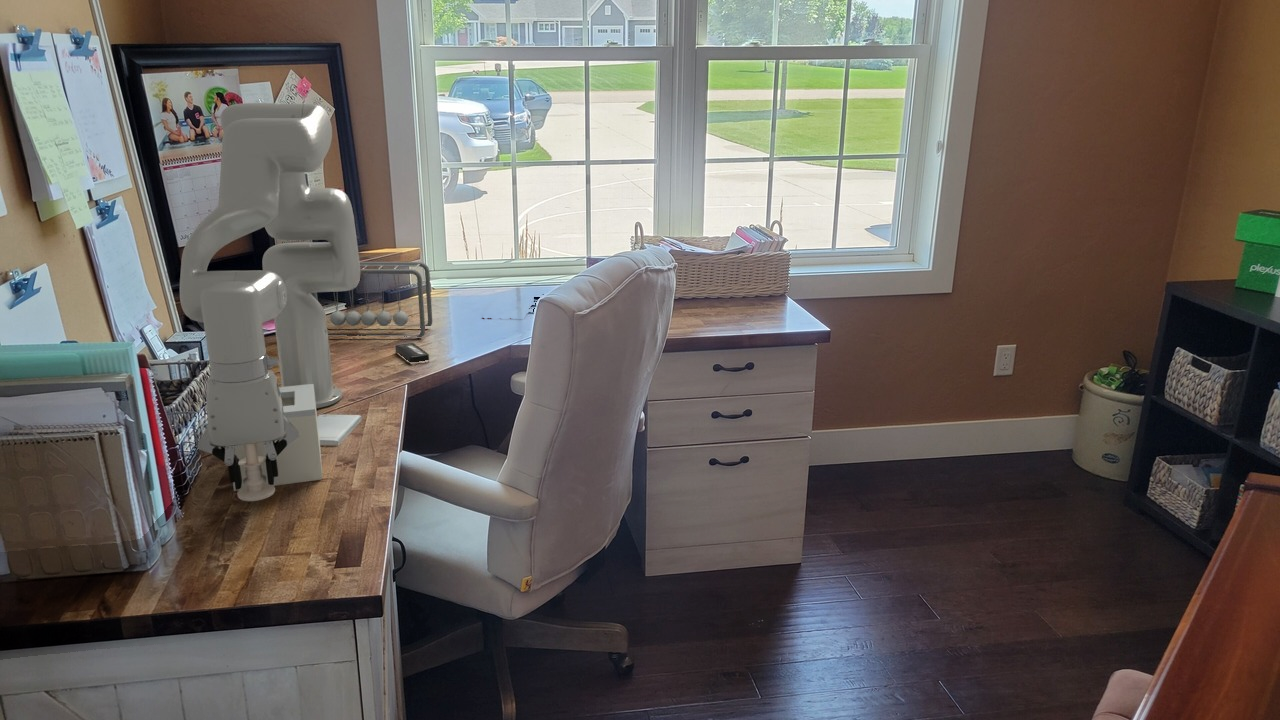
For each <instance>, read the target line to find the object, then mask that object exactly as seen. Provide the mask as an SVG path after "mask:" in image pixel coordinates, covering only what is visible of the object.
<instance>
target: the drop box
mask: <svg viewBox="0 0 1280 720" xmlns="http://www.w3.org/2000/svg"><path fill="white" fill-rule="evenodd" d="M279 390H280V394H281V399H282V405H283V411H284V416H285V417H286V418H287V419H288V420H289V421H290V422H291V423H292V424H293V426H294V427H295V428H296V429H297V430H298V431H299V437H298V438H297V439H295V440H294V441H293V442H291V443H290V444H288V445H287V446H286V447H285V448H284V449H283V451H282V452H281V453H280V454H279V455H278V456H277V458H276V459H277V467H278V477H274V485H273V486H274V487H275V486H283V485H290V484H296V483H305V482H312V481H318V480H319V481H321V480H323V467H322V465H323V464H322V452H321V445H320V440H319V430H318V421H317V416H318V413H317V409H316V402H315V392H314V384H307V385H296V386H286V387H282V386H279ZM285 434H286V432H285V431H284V435H285ZM276 441H277V440H275V442H276ZM256 446H257V453H258V456H263V457H265V458H266V455H267V452H266V449H265V446H264V443H263V442H262V443H256ZM235 455H236V456H237V458H238V459H239V461H240V460H241V459H243V458H246V455H245V446H244V445H237V446H235ZM261 469H262V475H265V476H266V481H265V482H264V483H268V477H267V470H266V461H265V462H264V463H263V464H261ZM240 470H241V477H242V485H241V488H243V487H245V486H247V485H245V484H244V483H243V480H244V478H246V477H247V476H246V473H245V472H246V469H245V467H242V466H240ZM232 486H233V492H236V491H237V492H238V491H239V490H240V489H241V488H240V489H238V490H236V488H235V482H233V483H232Z"/></svg>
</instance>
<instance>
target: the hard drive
mask: <svg viewBox="0 0 1280 720" xmlns="http://www.w3.org/2000/svg"><path fill="white" fill-rule="evenodd" d="M317 421H318V430H319V440H320V446H333V447H334V446H336V447H338V446H339V445H340V444H342V442H343V441H344V440H345V439H346V438H347V437H348V436H349V434H350V433H352V432H353V431H354V429H355V428H356V427H357V426H358V425H359V424H360V423H361V422H362V416H361V415H360V414H322V413H321V414H319V415H317Z"/></svg>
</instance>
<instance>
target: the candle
mask: <svg viewBox="0 0 1280 720" xmlns="http://www.w3.org/2000/svg"><path fill="white" fill-rule="evenodd" d="M244 446H245V455H246V458H243V459H241V460H240V461H239V462H238V465H240V466H242V467H245V469H246V472H245V473H246V476H247V477H246V478H244V480H243V483H244V484H245V485H247V486H245V487H243V488H241V489H240V490H238V491H237V493H236V494H237V498H238V499H240V500H241V501H243V502H258V501H262V500H265V499H267V498H270V497H272V496H273V495H274V494H275V492H276V487H275V486H273V485H270V484H268V483H264V482H265V481H266V476H265V475H262V469H261V464H263V463H264V462H265V461H266V458H265V457H263V456H258V453H257V446H256V443H254V444H245V445H244Z"/></svg>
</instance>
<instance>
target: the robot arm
mask: <svg viewBox="0 0 1280 720" xmlns="http://www.w3.org/2000/svg"><path fill="white" fill-rule="evenodd" d="M220 125H221V129H222V131H223V134H222V141H221V157H220V171H219V172H220V174H219V175H220V176H219V189H218V203H217V206H216V208H215V209H213V210H212V211H211V212H210V213H209V214H208V215H207V216H206V217H205V218H204V219H203V220H201V222H200V223H199V224H198V225H197V227H196V228H195V229H194V230H193V231H192V233H191V234H190V236H189V237H188V239H187V241H186V243H185V245H184V248H183V250H182V255H181V262H180V263H181V265H180V276H179V277H180V278H179V301H180V306H181V309H182V311H183V313H184V314H185V316H186V317H188V318H189V319H190V320H192V321H194V322H199V323H203V327H204V334H205V340H206V341H205V342H206V348H207V354H208V355H207V356H208V362H209V368H210V369H209V370H210V376H209V377H207V379H206V393H205V395H206V398H205V399H206V400H205V401H206V416H207V426H206V428H205V430H204V432H203V434H202V435H201V437H200V439H199V440H198V443H197V450H200V451H203V452H205V453H208V454H211V455H213V456H214V457H216V459H219V460H220V461H222V462H223V463H224V465H225V466H227V470H228V477H229V482H230V483H232V484H233V482H235V488H236V490H238V489H240V488H241V485H242V477H241V470H240V465H238V462H239V459H238V458H237V456H236V455H235V446H237V445H245V444H254V443H262V442H263V443H264V446H265V449H266V452H267V455H266V470H267V477H268V484H270V485H274V477H278V467H277V459H276V458H277V456H278V455H279V454H280V453H281V452H282V451H283V449H284V448H285V447H286V446H287V445H288V444H290V443H291V442H293V441H294V440H295V439H297V438H298V437H299V431H298V430H297V429H296V428H295V427H294V426H293V424H292V423H291V422H290V421H289V420H288V419H287V418H286V417H285V416H284V411H283V405H282V399H281V394H280V390H279V387H280V385H279V383H278V379H277V376H276V374H275V372H274V371H273V370H271V368H274V367H279V373H280V379H281V383H280V384H281V387H286V386H296V385H307V384H314V392H315V402H316V410H317V409H320V408H326V407H328V406H332V405H334V404H336V403H338V402H339V401H340V400H341V399H342V398H343V391H342V390H341V388H339V387H338V386H335V385H334V382H333V381H334V380H333V371H332V362H331V352H330V350H331V349H330V342H329V341H330V339H328V335H329V330H328V329H327V325H328V322H327V321H328V319H327V314H326V312H325V308H324V306H322V303H320V302H319V301H317V300H316V299H315V298H314V297H313V295H312V293H315V292H317V293H330V292H333V293H335V292H336V293H338V292H347V291H348V292H349V291H352V289H353V290H354V289H356V288H357V286H358V285H359V283H360V279H361V274H360V269H361V266H360V262H361V261H360V254H359V248H358V247H359V245H358V240H357V239H358V238H357V232H356V224H355V215H354V212H353V207H352V203H351V200H350V198H349V196H348V194H346V192H344V191H343V190H341V189H338V188H333V187H310V186H308V184H307V180H306V179H307V178H306V173H312V172H315V171H317V170H318V169H319V168H320V167H321V165H322V164H323V161H324V160H325V157H326V156H327V154H328V152H329V150H330V148H331V144H332V139H333V127H332V122H331V118H330V116H329V114H328V112H327V110H326V109H325V108H324V107H322V106H321V105H318V104H315V103H314V104H313V103H274V102H273V103H270V102H263V103H262V102H261V103H260V102H251V103H249V102H247V103H246V102H244V103H235V104H231V105H228V106H226V107H225V108H224V109H223V110H222V112H221V114H220ZM262 228H263V229H264V228H265V230H266V231H265V232H267V234H268V236H270V237H271V238H272V239H275V240H279V241H280V240H282V241H299V242H284V243H277V244H275V245H272V246H270V247H268V249H267V250H266V251H264V254H263V256H262V262H261V263H262V270H260V269H259V270H258V269H257V270H255V269H253V270H209V271H208V266H209V264H210V262H211V260H212V258H213V257H214V256H215V255H216V253H217V252H219V251H220V250H221V249H222V248H224V247H225V246H226V245H228V244H230V243H232V242H233V241H236V240H238V239H240V238H243V237H244V236H247V235H249V234H251V233H253V232H256V231H259V230H261V229H262ZM319 240H322V241H323V240H325V241H323V242H320V241H319ZM301 241H303V242H301ZM304 241H305V242H304ZM306 241H307V242H306ZM308 241H309V242H308ZM313 241H319V242H313ZM272 320H274V329H275V330H274V331H275V340H276V347H277V348H276V349H277V355H278V356H276V357H274V356H273V357H272V356H270V355H269V354H267V350H266V341H265V340H266V339H265V335H264V332H265V331H264V327H263V326H264V325H263V324H264V323H267V322H269V321H272ZM284 431H285V432H286V434H285V435H284ZM275 440H277V441H276V442H275ZM238 491H239V490H238Z"/></svg>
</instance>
